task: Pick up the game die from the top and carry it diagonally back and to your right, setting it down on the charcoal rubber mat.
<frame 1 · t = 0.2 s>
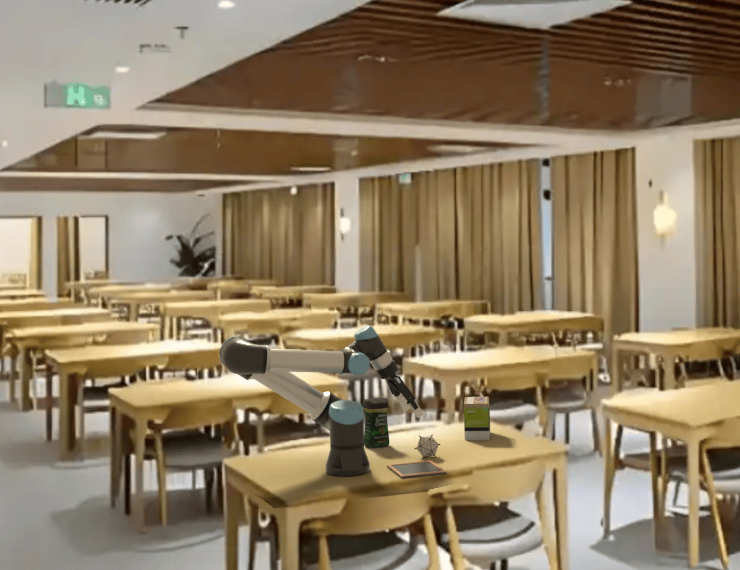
hand: (414, 412, 334), 16 cm above the table, tool tilted 30°, fingers open, 13 cm apart
mat: (416, 470, 313), on the table
coffee jar: (376, 446, 350), on the table
game die: (427, 457, 331), on the table
tea box: (477, 436, 363), on the table
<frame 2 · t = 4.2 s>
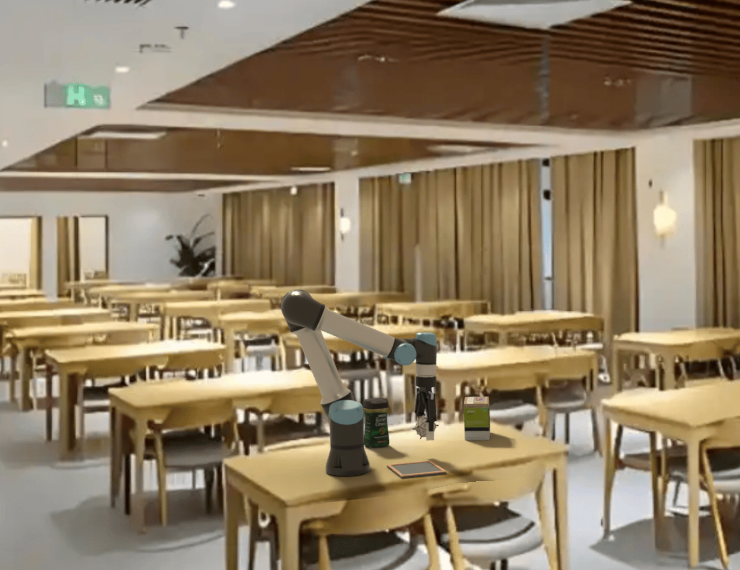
hand: (425, 437, 330), 7 cm above the table, tool pointing down, fingers closed on game die, 9 cm apart
game die: (425, 438, 330), point 7 cm above the table, touching gripper
everything else where it was.
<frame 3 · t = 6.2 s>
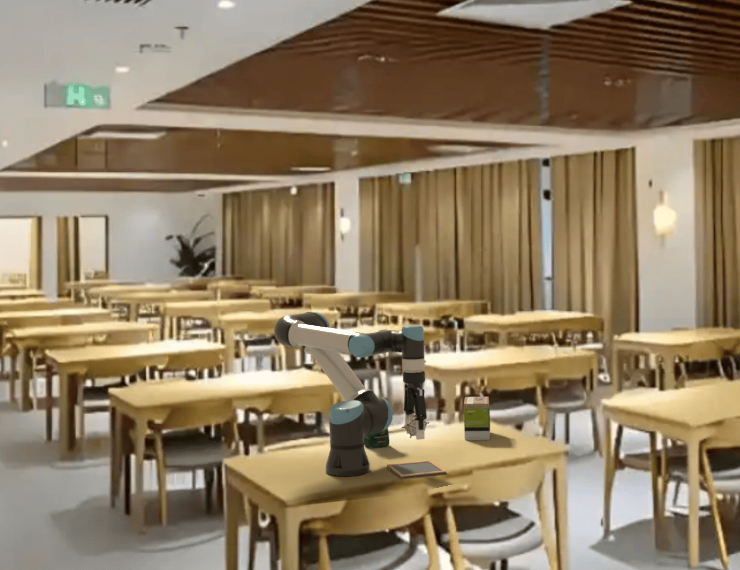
hand: (415, 436, 312), 12 cm above the table, tool pointing down, fingers closed on game die, 9 cm apart
game die: (415, 437, 312), point 11 cm above the table, touching gripper
everything else where it was.
when the fingers open (2 cm above the table, at t = 8.7 s): game die drops 1 cm, resting on mat.
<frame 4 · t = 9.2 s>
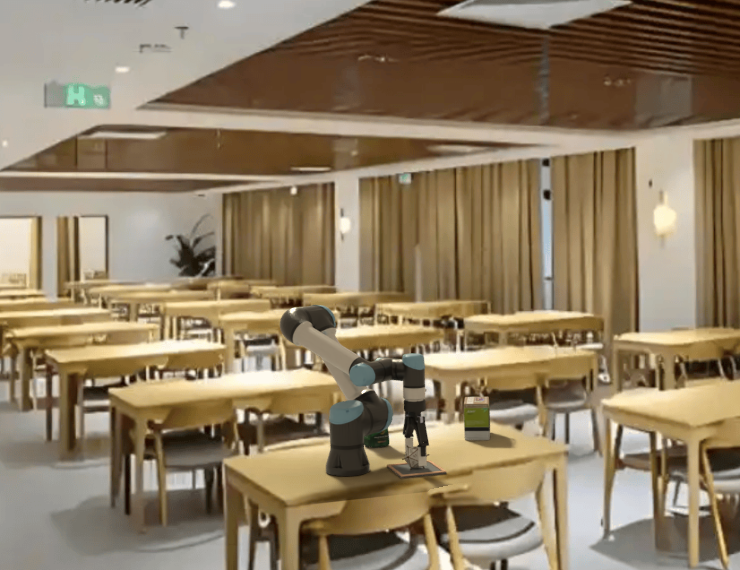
hand: (415, 461, 312), 3 cm above the table, tool pointing down, fingers open, 13 cm apart
game die: (415, 469, 313), resting on mat
everything else where it was.
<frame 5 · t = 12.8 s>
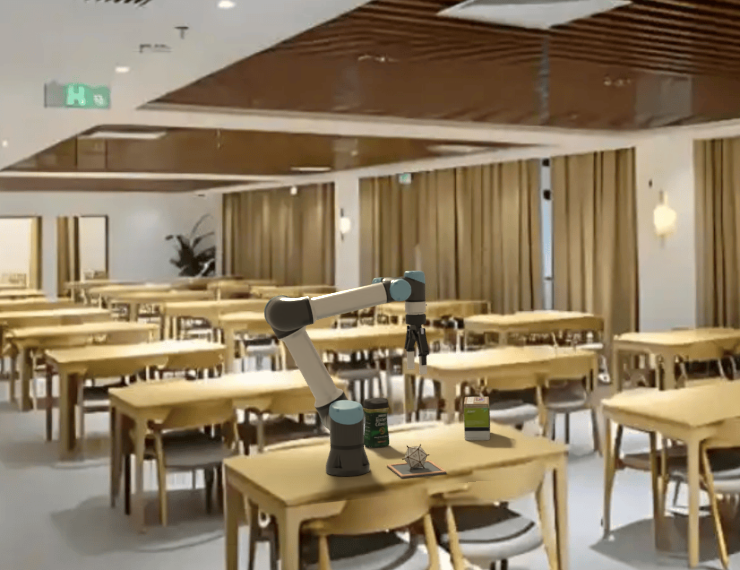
hand: (416, 371, 332), 31 cm above the table, tool pointing down, fingers open, 13 cm apart
nothing on the table moved.
at the end: game die 0.2 cm from the mat (horizontally); game die resting on mat; the gripper is holding nothing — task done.
